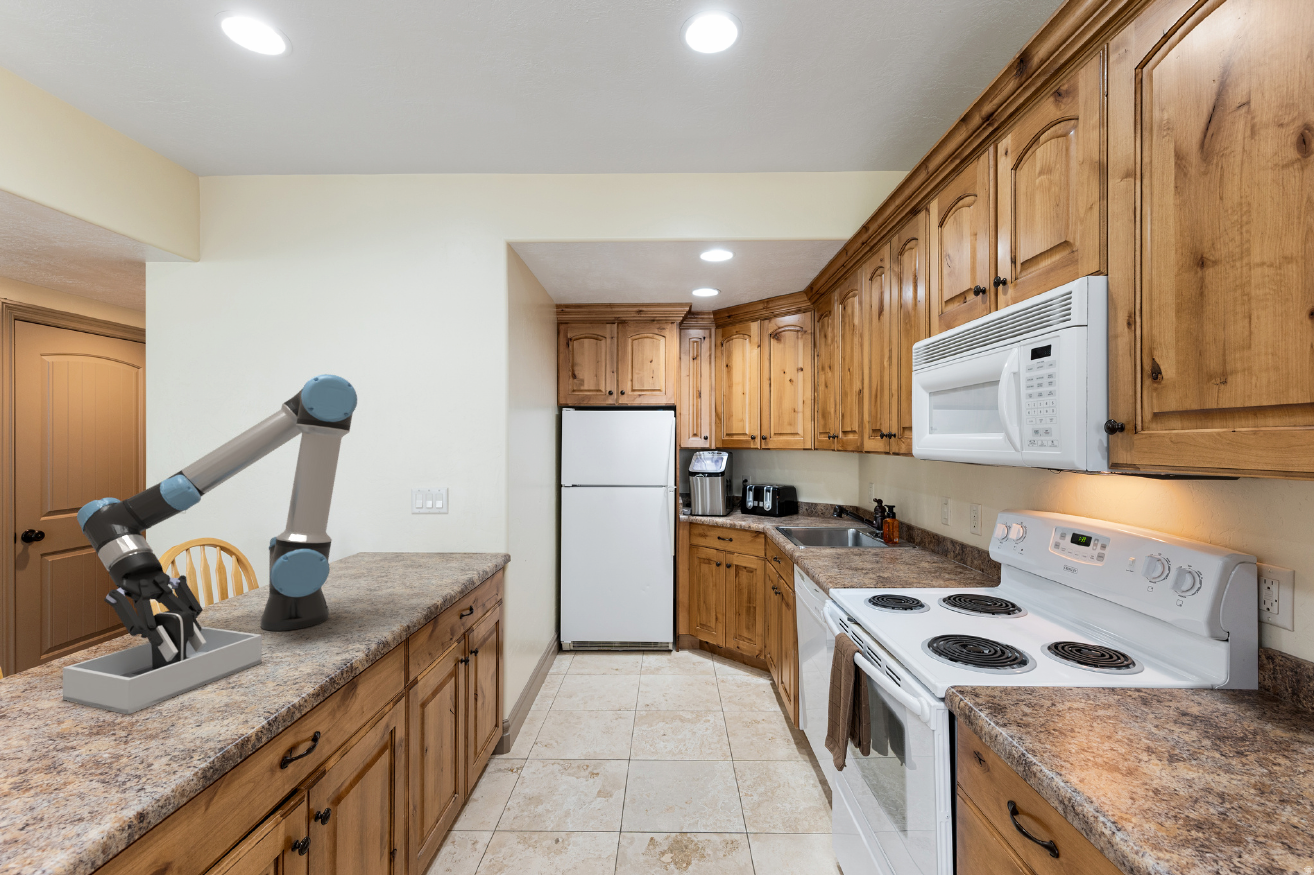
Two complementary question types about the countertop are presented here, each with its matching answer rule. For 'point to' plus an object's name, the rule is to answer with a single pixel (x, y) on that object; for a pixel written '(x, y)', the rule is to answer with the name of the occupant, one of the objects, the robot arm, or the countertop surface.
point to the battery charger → (173, 635)
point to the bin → (158, 672)
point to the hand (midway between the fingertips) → (187, 651)
